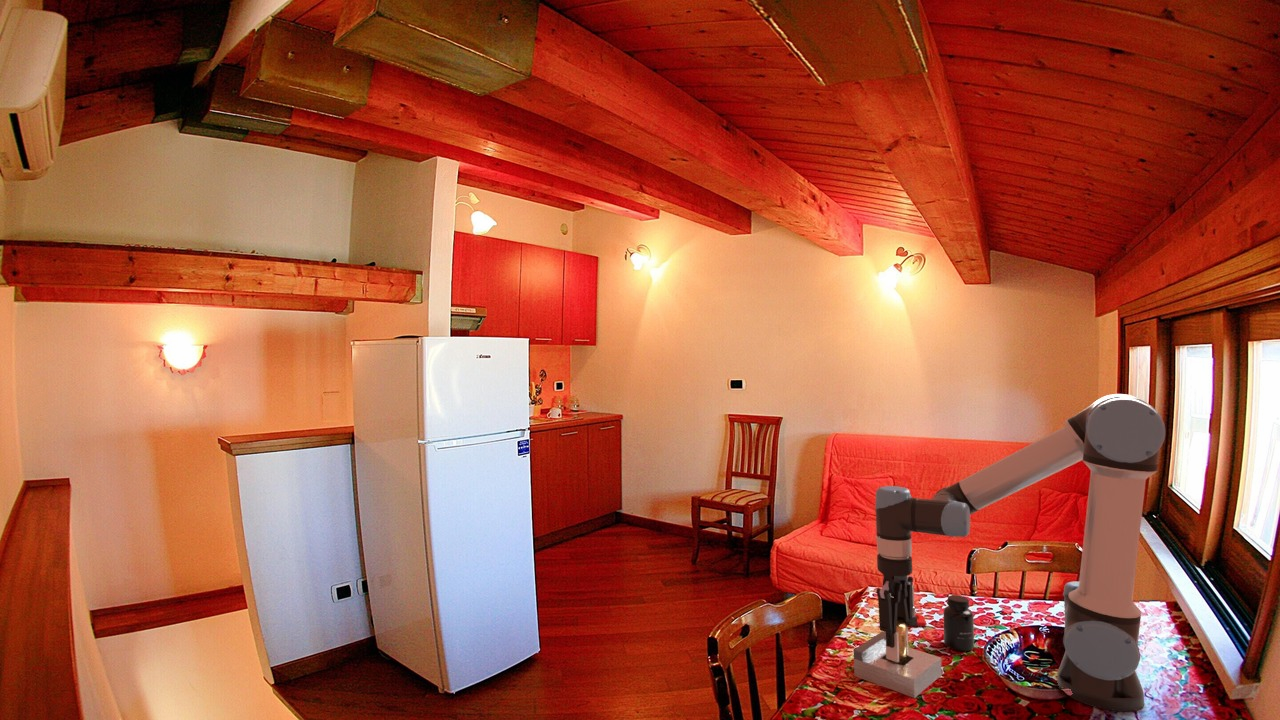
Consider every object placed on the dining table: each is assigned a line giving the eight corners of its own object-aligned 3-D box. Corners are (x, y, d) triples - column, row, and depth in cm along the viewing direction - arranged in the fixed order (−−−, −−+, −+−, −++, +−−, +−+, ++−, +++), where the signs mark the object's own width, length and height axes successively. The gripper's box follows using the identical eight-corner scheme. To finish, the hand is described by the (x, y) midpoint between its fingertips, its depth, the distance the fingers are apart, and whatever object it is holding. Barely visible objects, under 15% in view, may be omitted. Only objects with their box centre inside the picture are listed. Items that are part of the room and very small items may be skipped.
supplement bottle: (966, 654, 157) (965, 605, 157) (939, 645, 162) (937, 598, 162) (979, 646, 161) (977, 598, 161) (951, 637, 167) (950, 591, 167)
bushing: (909, 667, 148) (908, 623, 148) (901, 673, 145) (900, 628, 145) (893, 661, 151) (891, 618, 151) (884, 667, 148) (883, 623, 148)
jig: (941, 675, 147) (940, 648, 147) (914, 698, 138) (913, 670, 138) (883, 655, 158) (882, 631, 158) (854, 675, 148) (853, 649, 148)
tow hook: (889, 614, 184) (897, 626, 174) (887, 569, 184) (895, 578, 175) (920, 615, 182) (929, 627, 173) (918, 569, 183) (927, 579, 174)
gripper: (895, 543, 156) (898, 639, 156) (860, 560, 145) (863, 663, 145) (926, 549, 151) (929, 649, 151) (892, 567, 139) (896, 675, 139)
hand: (897, 656), depth 148 cm, fingers closed on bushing, 4 cm apart
